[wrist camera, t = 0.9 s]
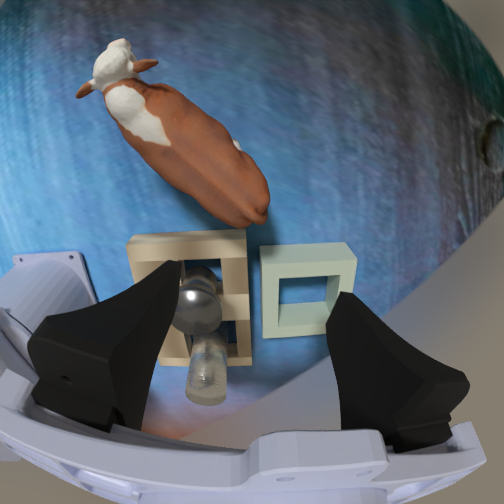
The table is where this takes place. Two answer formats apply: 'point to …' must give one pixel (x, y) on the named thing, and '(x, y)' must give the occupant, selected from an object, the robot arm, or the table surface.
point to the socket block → (229, 290)
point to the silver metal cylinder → (208, 367)
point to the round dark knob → (198, 303)
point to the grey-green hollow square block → (302, 265)
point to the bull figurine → (179, 139)
